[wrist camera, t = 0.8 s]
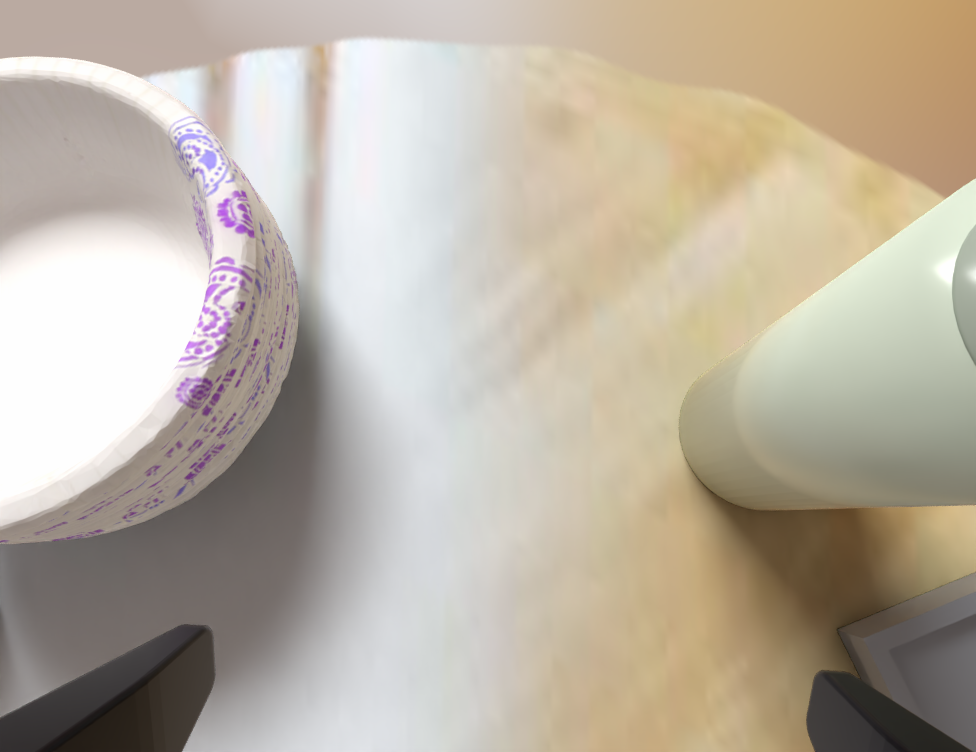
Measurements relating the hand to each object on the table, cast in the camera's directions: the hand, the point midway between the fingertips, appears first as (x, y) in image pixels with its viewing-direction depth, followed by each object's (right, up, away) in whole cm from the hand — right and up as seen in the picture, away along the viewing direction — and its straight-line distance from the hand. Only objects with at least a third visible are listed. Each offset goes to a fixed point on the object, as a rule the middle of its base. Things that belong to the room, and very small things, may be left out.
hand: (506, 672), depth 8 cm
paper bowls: (-14, +5, +15) cm, 22 cm away
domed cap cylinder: (+10, +2, +14) cm, 17 cm away
